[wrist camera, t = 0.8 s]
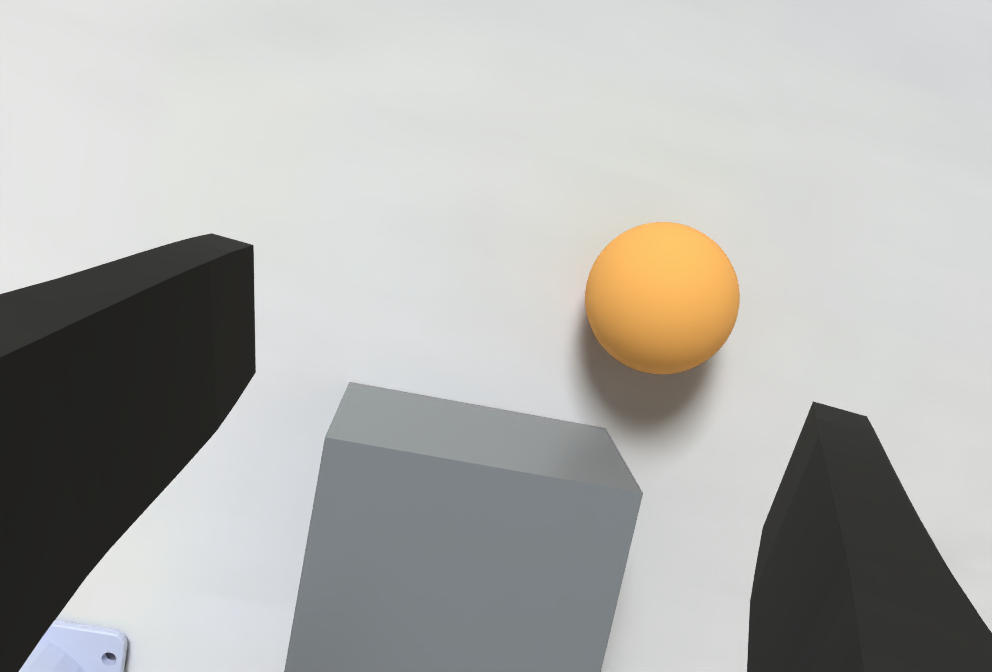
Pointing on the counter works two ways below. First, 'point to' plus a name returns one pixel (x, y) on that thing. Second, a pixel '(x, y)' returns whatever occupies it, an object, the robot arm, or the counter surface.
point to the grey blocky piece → (461, 540)
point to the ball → (662, 298)
